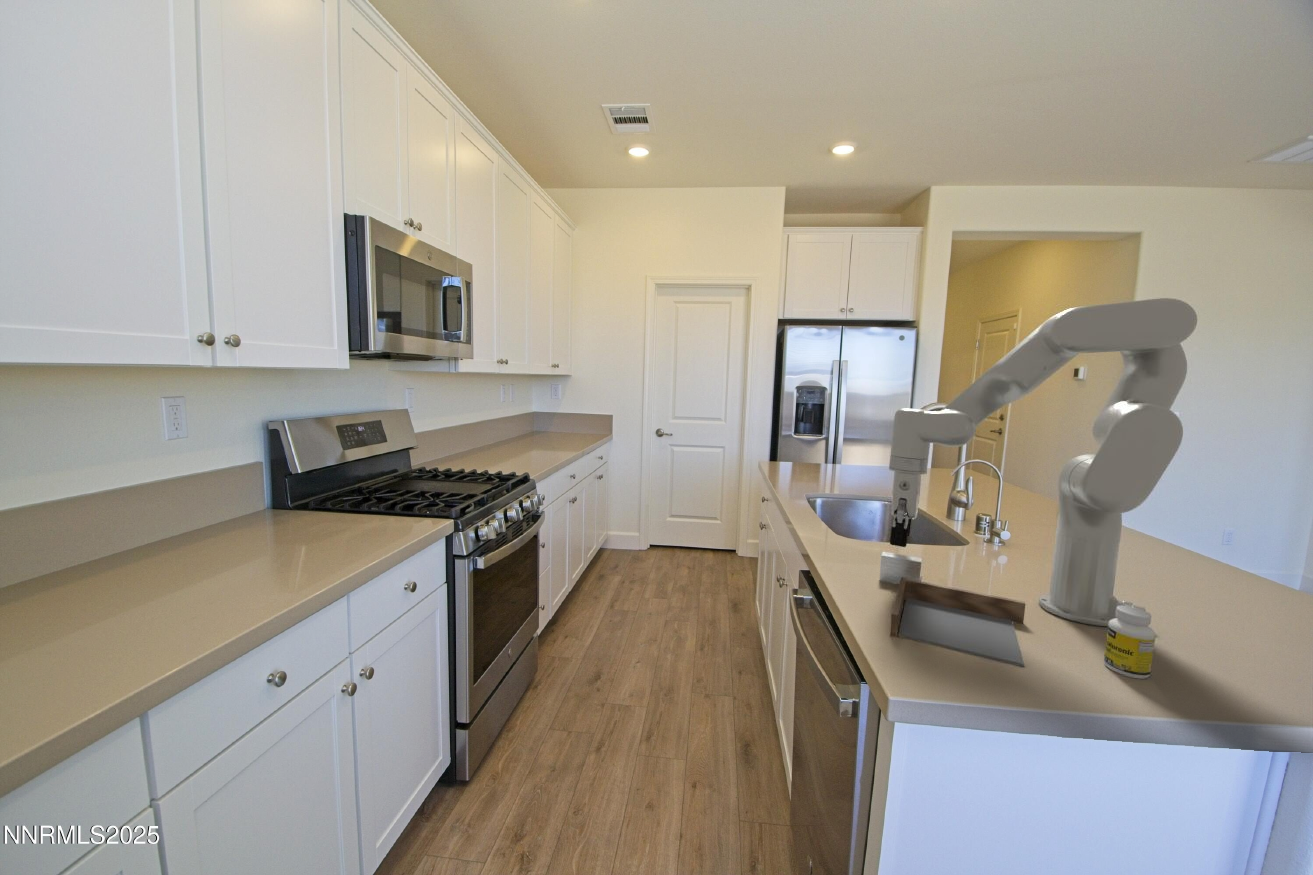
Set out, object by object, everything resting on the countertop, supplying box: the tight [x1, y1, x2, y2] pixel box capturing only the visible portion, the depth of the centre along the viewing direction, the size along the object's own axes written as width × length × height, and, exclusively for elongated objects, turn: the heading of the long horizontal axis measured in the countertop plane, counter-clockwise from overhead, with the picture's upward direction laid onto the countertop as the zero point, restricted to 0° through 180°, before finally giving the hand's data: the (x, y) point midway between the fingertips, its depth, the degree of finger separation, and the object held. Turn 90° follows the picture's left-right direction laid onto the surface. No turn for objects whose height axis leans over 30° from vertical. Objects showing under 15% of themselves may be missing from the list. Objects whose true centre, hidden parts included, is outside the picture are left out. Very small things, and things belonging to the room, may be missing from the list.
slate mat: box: [898, 598, 1025, 667], centre depth 92 cm, size 18×18×1 cm
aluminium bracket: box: [879, 551, 923, 585], centre depth 116 cm, size 8×9×6 cm
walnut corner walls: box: [889, 577, 1026, 638], centre depth 92 cm, size 21×21×4 cm
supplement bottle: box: [1103, 606, 1156, 680], centre depth 79 cm, size 5×5×10 cm
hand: (899, 539), depth 113 cm, fingers open, 9 cm apart
